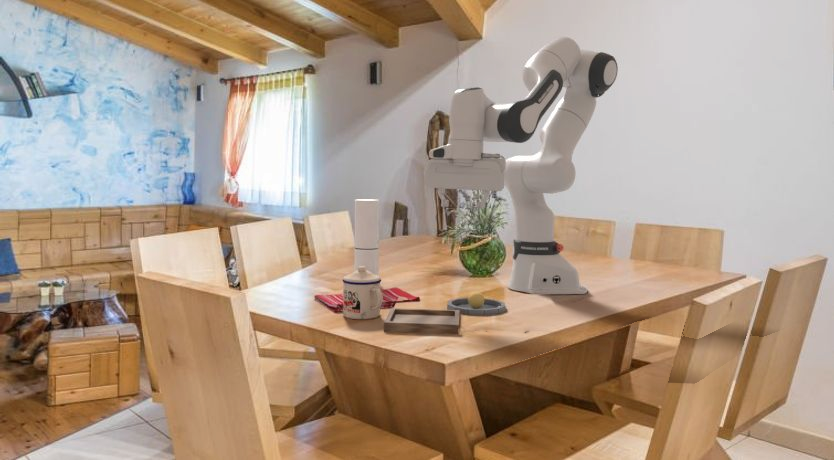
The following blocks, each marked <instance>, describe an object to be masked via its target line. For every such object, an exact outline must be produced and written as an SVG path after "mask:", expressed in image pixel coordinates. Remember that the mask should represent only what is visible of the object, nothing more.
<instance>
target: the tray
mask: <svg viewBox="0 0 834 460" xmlns="http://www.w3.org/2000/svg"><path fill="white" fill-rule="evenodd" d="M383 331H384V332H387V333H389V332H390V333H414V334H415V333H417V334H420V333H421V334H423V333H424V334H448V335H451V334H452V335H459V334H460V313H459V310H448V309H435V308H433V309H432V308H405V307H403V308H402V307H400V308H399V307H394V308H390V311H389V312H388V314H387V316H386V318H385V319H384V322H383Z"/></svg>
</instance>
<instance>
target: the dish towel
mask: <svg viewBox="0 0 834 460" xmlns="http://www.w3.org/2000/svg"><path fill="white" fill-rule="evenodd" d="M380 291H381V292H382V295H383V302H382V305H381V307H380V310H381V309H391V308H392V307H394V308H395V306H396V304H397V303H406V302H408V303H411V302H412V303H413V302H419V301H421V298H420V296H416V295H413V294H410V293H409V292H407V291H404V290H403V289H401V288H399V287H398V286H397V287H391V288H390V287H389V288H385V289H380ZM400 297H402V298H406V299H399V298H400ZM313 298H314V300H315V301H316V302H317V303H319V304H320V305H322V306H323V307H324V308H326V309H327V310H328V311H330V312H332V313H343V293H339V294H338V293H337V294H336V293H335V294H328V293H327V294H315V295H314V296H313Z"/></svg>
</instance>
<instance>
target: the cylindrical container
mask: <svg viewBox="0 0 834 460" xmlns="http://www.w3.org/2000/svg"><path fill="white" fill-rule="evenodd" d="M379 231H380V199H375V198H374V199H373V198H370V199H366V198H363V199H362V198H361V199H354V237H353V238H354V242H353V243H354V244H353V245H354V249H353V250H354V251H353V252H354V254H353V255H354V256H353V257H354V258H353V259H354V263H353V264H354V267H353V272H354V271H358V267H359V266H365V267H366V271H369V272H371V273H372V274H374V275H377V276H379V250H380V247H379V246H380V245H379V241H380V240H379V238H380V237H379V236H380V235H379V234H380V233H379Z"/></svg>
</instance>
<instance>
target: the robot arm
mask: <svg viewBox="0 0 834 460" xmlns="http://www.w3.org/2000/svg"><path fill="white" fill-rule="evenodd" d="M618 68H619V67H618V63H617V60H616V58H615V57H614V56H613V55H611V54H609V53H606V52H603V51H602V52H601V51H600V52H598V51H593V50H586V49H585V50H584V49H581V48H580V46H579V44H578V42H576V41H575V40H574V39H572V38H570V37H566V36H562V37H561V36H560V37H558V38H555V39H553V40H551V41H550V42H548V43H547V44H545V45H544V46H542V47H541V48H540V49H539V50H538V51H537V52H536V53H534V55H532V56H531V57H530V58H529V59H528V60H527V62H526V63H525V64H524V67H523V68H522V80H523V84H524V85H525V88H527V90H528V91H529V93H528V94H527V96H525V98H523V99H521V100H518V101H513V102H503V103H501V102H500V103H496V102H495V101H492V100H491V99H490V98H489V97H488V96H487V95H486V94H485V92H484V89H483V88H482V87H478V86H477V87H475V86H474V87H468V88H459V89H457V90H455V91H454V92H453V94H452V97H451V100H450V106H449V116H448V117H449V119H448V121H449V122H448V123H449V124H448V125H449V130H450V131H449V135H448V140H447V144H446V145H442V146H440V147H437V148H432V149H430V150H429V152H428V156H429V158H430V159H429V160H428V161H427V162H426V165H425V170H424V171H425V172H424V178H423V179H424V180H423V184H424V185H425V187H426V188H427V189H437V191H436V192H437V196H438V198H439V199H440V202H441V203H440V206H441V207H442V208H449V202H450V200H449V199H446V197H445V195H444V194H445V193H446V190H449V189H450V190H464V191H467V190H469V191H481V195H482V199H481V200H480V201H477V202H476V205H477V206H476V209H477V210H484V209H485V206H486V205H485V204H486V202H487V200H488V198H489V197H490V193H491V192H502V191H503V189H504V188H507V190H508V193H509V195H510V198H511V201H512V205H513V209H514V218H515V219H514V222H515V223H514V224H515V225H514V227H515V229H514V239H513V241H512V259H513V262H512V268H511V274H510V279H509V282H508V285H507V288H508V289H510V290H512V291H516V292H523V293H528V294H531V295H584V294H587V292H588V288H587V286H586V285H585V284H582V283H580V276H579V271H578V269H577V268H576V266H575V265H573V264H572V263H571V262H570V261H568V259H566V258H565V257H563V256H562V255H561V252H563V251H564V249H565V246H564V245H563V244H562V243H559V242H556V241H555V240H554V238H555V236H554V235H555V214H554V212H553V211H552V209H551V208H550V207H549V206H548V204H547V202H546V199H545V196H544V194H557V193H562V192H565V191H569V189H570V188H572V186H573V184H574V182H575V179H576V167H575V165H574V163H573V161H572V159H573V158H572V157H573V153H574V151H575V149H576V146H577V145H578V143H579V141H580V139H581V138H582V136H583V134H584V132H585V131H586V129H587V128H588V126H589V124H590V121H591V120H592V117H593V115H594V112H595V109H596V106H597V98H599V97H602V96H603V95H604V94H605V93H606V92H607V91H608V90H610V88H611V87H612V86H613V84H615V83H614V82H615V81H616V80H617V77H618V71H619V69H618ZM563 88H565V89H566V90H565V94H564V95H563V96H562V98H560V100H559V101H558V102H557V104H556V105H555V106H554V108H553V109H552V111H551V113H550V115H549V116H548V118H547V119H546V121H545V123H543V126H542V127H541V129H540V131H539V139H540V141H541V144H542V145H541V147H540V150H539V151H538V152H537V153H535V154H534V153H533V154H532V153H531V154H523V153H522V154H517V155H514V156H511V157H509V158H507V159H506V158H505V157H504V156H503V155H501V154H500V153H486V152H484V143H485V142H491V143H500V142H501V143H507V142H509V143H517V144H518V143H519V144H523V143H527V142H528V141H529V140H530V139H531V138H532V137H533V136H534V133H535V132H536V131H537V127H538V125H539V123H540V122H541V119H542V118H543V117H544V115H545V114H546V112H547V111H548V110H549V108H550V107H551V106H552V105H553V104H554V102H555V101H556V99H557V98H558V96H559V95H560V94H561V91H562V89H563Z"/></svg>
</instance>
